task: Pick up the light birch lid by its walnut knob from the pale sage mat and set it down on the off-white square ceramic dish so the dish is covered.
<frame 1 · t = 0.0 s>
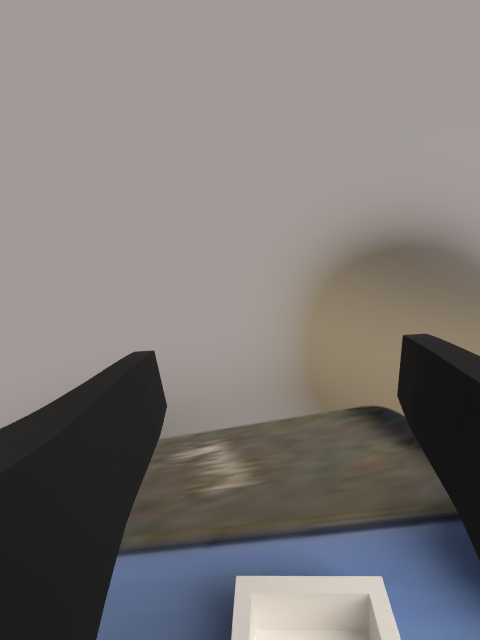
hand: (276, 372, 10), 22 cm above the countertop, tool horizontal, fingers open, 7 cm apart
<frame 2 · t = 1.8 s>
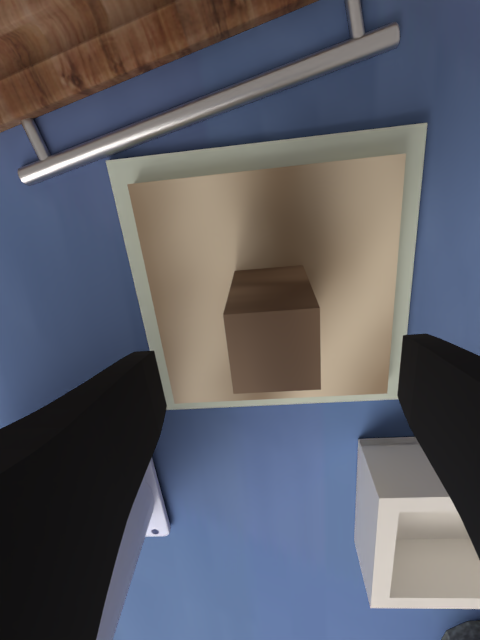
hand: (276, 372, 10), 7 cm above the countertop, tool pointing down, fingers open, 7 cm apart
mortar and pestle: (469, 638, 28), on the countertop
birch lid: (270, 293, 17), resting on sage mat
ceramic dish: (430, 492, 22), on the countertop
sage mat: (270, 291, 17), on the countertop
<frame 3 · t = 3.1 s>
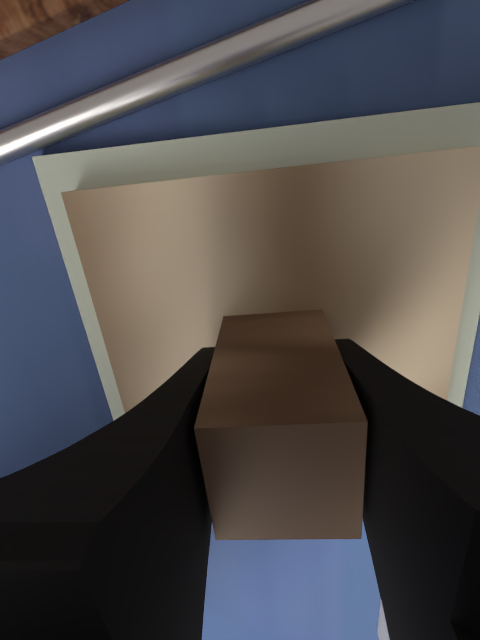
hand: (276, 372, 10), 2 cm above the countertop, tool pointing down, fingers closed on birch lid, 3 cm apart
birch lid: (274, 344, 12), resting on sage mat, touching gripper
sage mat: (274, 338, 12), on the countertop
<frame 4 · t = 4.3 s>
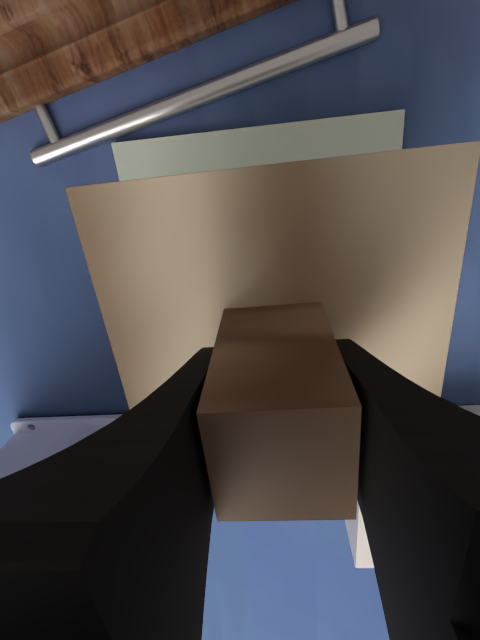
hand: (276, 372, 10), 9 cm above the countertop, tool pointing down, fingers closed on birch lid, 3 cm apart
birch lid: (273, 336, 12), point 7 cm above the countertop, touching gripper
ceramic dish: (413, 462, 23), on the countertop
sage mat: (262, 267, 18), on the countertop
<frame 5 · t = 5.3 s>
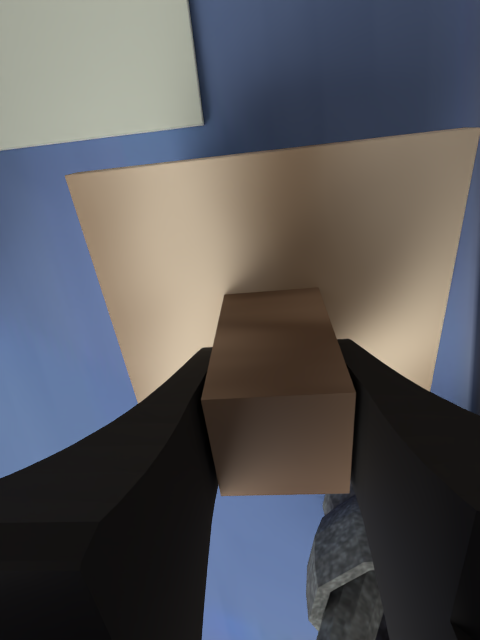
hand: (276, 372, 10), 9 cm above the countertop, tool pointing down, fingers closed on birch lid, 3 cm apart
mortar and pestle: (356, 499, 25), on the countertop
birch lid: (272, 319, 13), point 6 cm above the countertop, touching gripper
when the fingers open (7 cm above the countertop, at t = 5.9 s): birch lid stays where it is, resting on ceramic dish.
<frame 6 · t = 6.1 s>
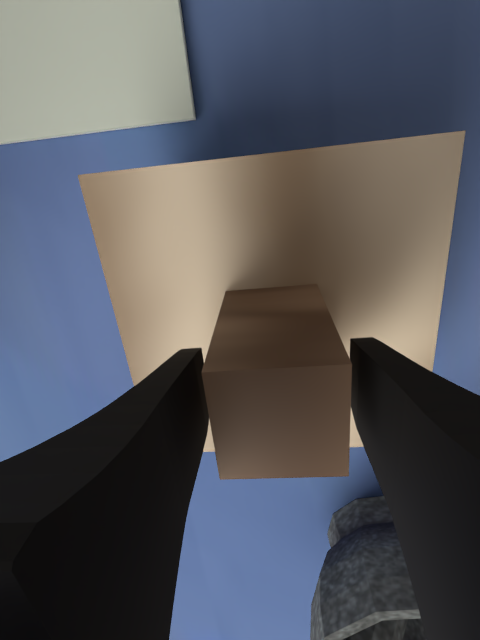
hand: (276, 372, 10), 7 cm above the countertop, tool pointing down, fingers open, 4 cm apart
mortar and pestle: (364, 527, 23), on the countertop
birch lid: (272, 319, 13), point 4 cm above the countertop, touching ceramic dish
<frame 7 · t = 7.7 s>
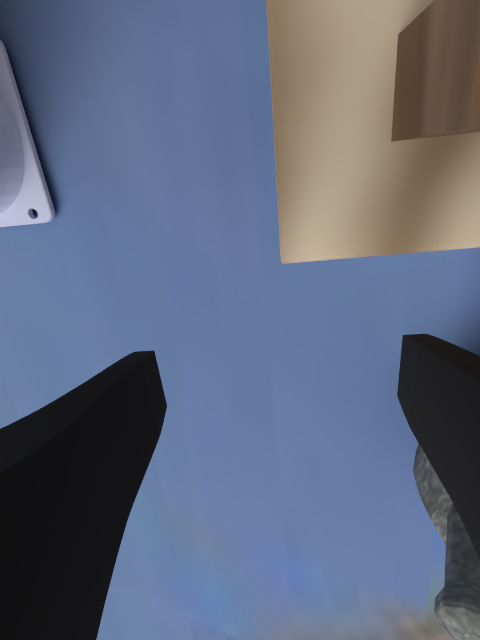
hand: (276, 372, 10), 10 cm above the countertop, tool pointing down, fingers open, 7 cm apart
mortar and pestle: (452, 410, 22), on the countertop
birch lid: (431, 89, 12), point 4 cm above the countertop, touching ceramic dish
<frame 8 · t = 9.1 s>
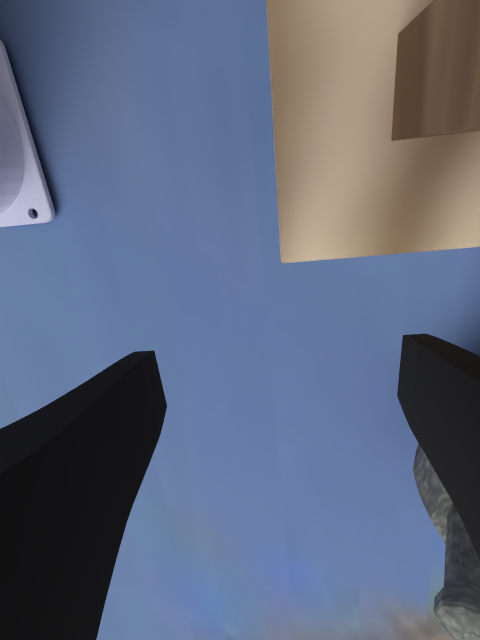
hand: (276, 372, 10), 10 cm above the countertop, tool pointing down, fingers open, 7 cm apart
mortar and pestle: (452, 410, 22), on the countertop
birch lid: (431, 89, 12), point 4 cm above the countertop, touching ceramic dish
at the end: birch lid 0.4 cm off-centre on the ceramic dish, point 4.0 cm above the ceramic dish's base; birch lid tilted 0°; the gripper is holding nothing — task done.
